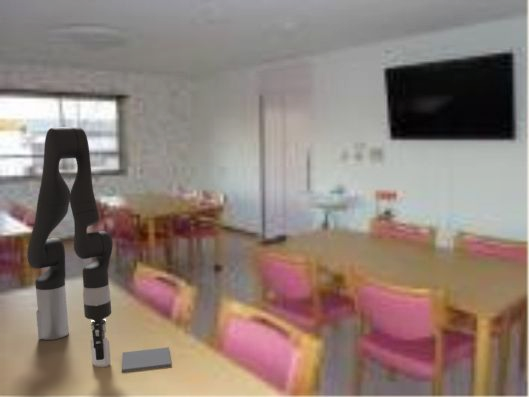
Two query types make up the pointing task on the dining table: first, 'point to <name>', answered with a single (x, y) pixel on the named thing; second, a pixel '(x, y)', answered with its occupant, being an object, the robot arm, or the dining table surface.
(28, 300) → the dining table surface
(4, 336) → the dining table surface
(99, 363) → the eye dropper bottle
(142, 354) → the slate mat
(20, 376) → the dining table surface
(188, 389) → the dining table surface
